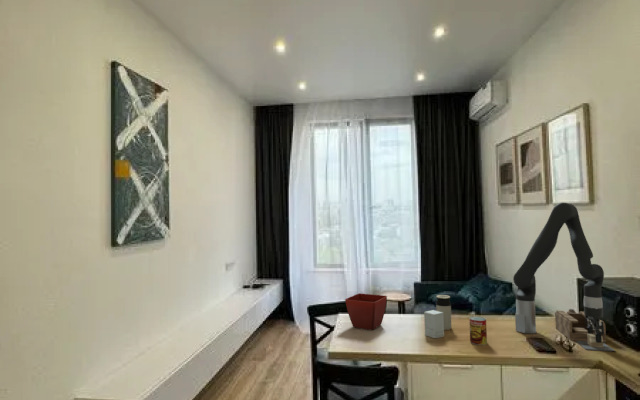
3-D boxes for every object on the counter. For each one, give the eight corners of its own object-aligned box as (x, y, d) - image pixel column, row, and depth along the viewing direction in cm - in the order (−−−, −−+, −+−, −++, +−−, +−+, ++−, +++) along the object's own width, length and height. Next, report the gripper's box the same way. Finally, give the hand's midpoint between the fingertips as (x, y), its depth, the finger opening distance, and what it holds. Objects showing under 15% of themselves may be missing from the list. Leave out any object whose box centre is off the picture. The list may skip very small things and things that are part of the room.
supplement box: (444, 336, 205) (443, 312, 206) (434, 338, 201) (434, 314, 202) (434, 332, 211) (433, 309, 212) (424, 335, 208) (423, 311, 208)
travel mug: (453, 330, 216) (452, 297, 217) (439, 330, 216) (438, 297, 217) (449, 325, 224) (448, 294, 225) (435, 326, 224) (434, 294, 225)
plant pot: (344, 328, 223) (344, 298, 224) (359, 320, 239) (358, 293, 240) (375, 333, 213) (374, 302, 214) (388, 324, 229) (387, 295, 230)
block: (603, 347, 183) (602, 336, 183) (591, 346, 184) (590, 336, 185) (599, 344, 187) (598, 334, 187) (587, 344, 188) (587, 333, 188)
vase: (581, 326, 218) (581, 311, 218) (568, 326, 219) (567, 310, 220) (576, 323, 225) (575, 308, 225) (563, 322, 226) (562, 307, 226)
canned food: (467, 342, 195) (466, 318, 196) (475, 338, 200) (474, 315, 201) (481, 346, 189) (480, 321, 190) (490, 342, 194) (489, 318, 194)
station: (620, 352, 178) (619, 330, 178) (581, 349, 182) (580, 328, 182) (588, 330, 211) (587, 311, 212) (555, 328, 215) (555, 310, 216)
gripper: (578, 302, 194) (579, 334, 194) (590, 308, 180) (592, 344, 180) (595, 302, 192) (596, 335, 192) (609, 309, 179) (610, 345, 178)
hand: (594, 339), depth 186 cm, fingers open, 8 cm apart
